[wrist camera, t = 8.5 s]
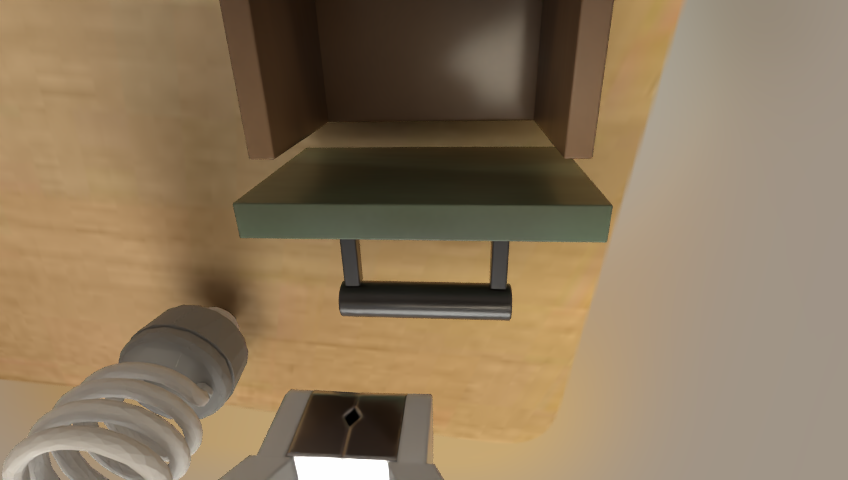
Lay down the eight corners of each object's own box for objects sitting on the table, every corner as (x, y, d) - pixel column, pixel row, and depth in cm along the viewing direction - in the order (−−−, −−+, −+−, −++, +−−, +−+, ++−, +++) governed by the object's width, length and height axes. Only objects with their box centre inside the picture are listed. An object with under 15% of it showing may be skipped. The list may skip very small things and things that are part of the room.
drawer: (550, 258, 22) (588, 358, 15) (320, 255, 23) (262, 347, 16) (608, -281, 14) (739, -561, 7) (252, -253, 15) (84, -480, 8)
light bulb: (187, 352, 27) (5, 564, 16) (167, 271, 25) (-61, 456, 14) (278, 358, 27) (153, 579, 16) (266, 277, 25) (111, 471, 14)
